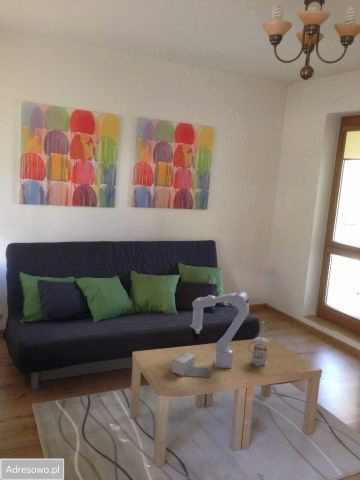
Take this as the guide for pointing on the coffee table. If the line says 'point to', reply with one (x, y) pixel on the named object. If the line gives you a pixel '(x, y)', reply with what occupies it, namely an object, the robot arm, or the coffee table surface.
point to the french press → (259, 359)
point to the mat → (197, 372)
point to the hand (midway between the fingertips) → (195, 341)
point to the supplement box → (183, 363)
